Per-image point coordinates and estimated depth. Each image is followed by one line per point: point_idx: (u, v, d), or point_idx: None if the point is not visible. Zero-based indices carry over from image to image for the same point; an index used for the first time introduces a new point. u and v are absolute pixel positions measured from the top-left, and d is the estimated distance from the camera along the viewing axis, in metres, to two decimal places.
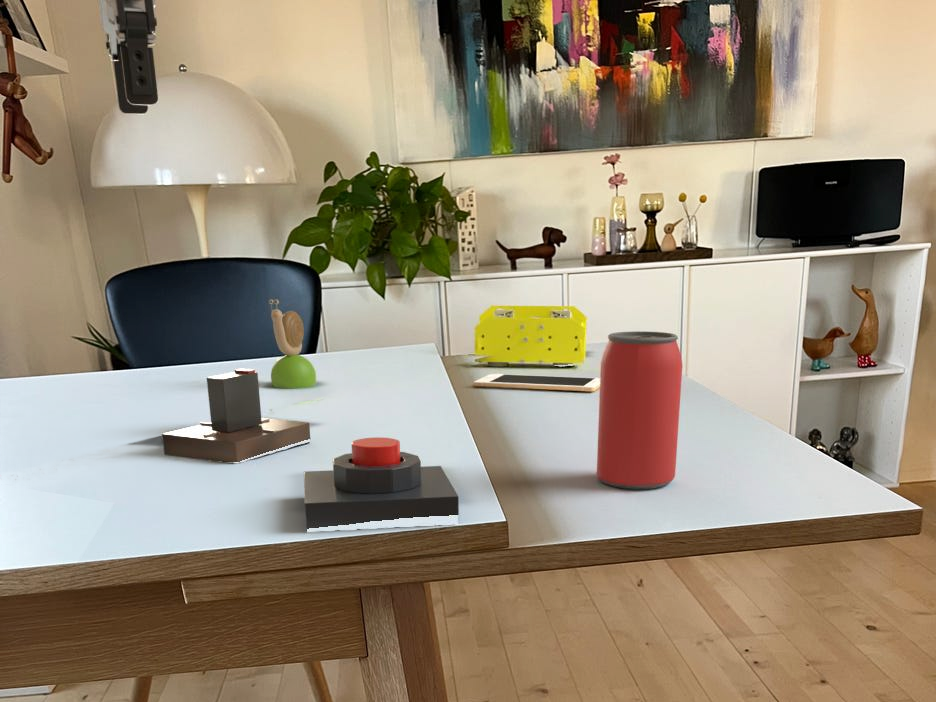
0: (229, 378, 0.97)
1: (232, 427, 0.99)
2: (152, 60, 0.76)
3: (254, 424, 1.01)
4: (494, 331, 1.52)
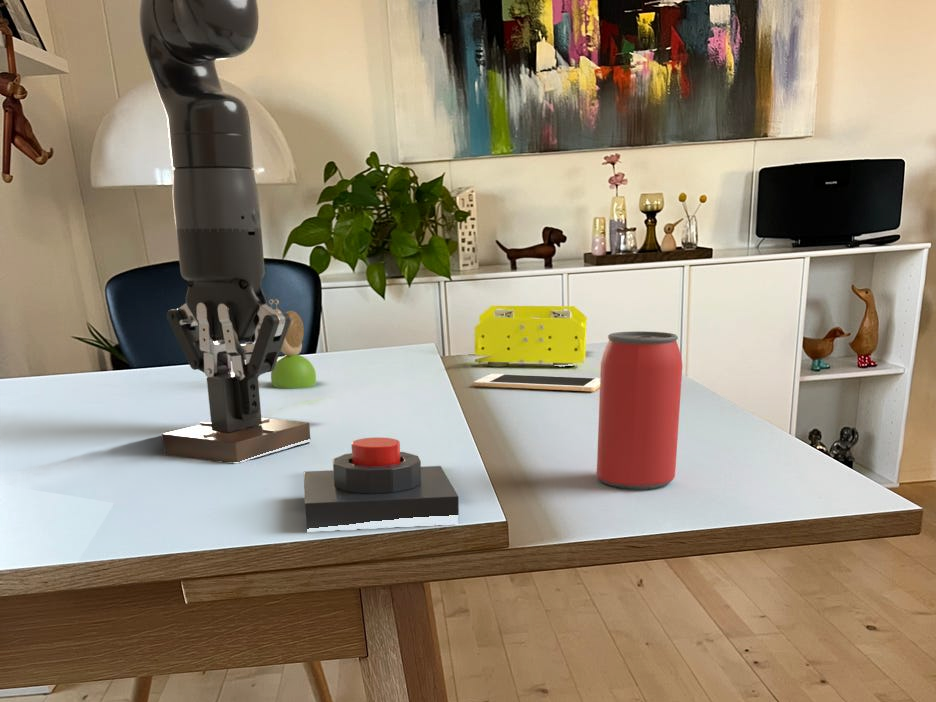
0: (229, 378, 0.97)
1: (232, 427, 0.99)
2: None
3: (254, 424, 1.01)
4: (494, 331, 1.52)
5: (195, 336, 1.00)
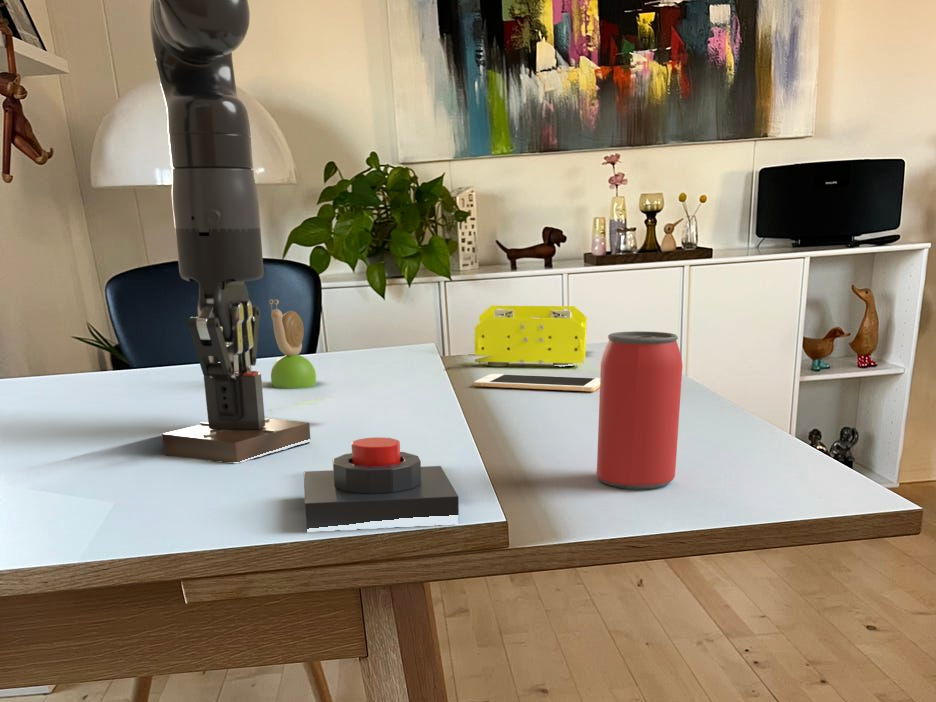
0: None
1: (215, 425, 1.00)
2: (236, 390, 0.98)
3: (247, 428, 1.00)
4: (494, 331, 1.52)
5: None
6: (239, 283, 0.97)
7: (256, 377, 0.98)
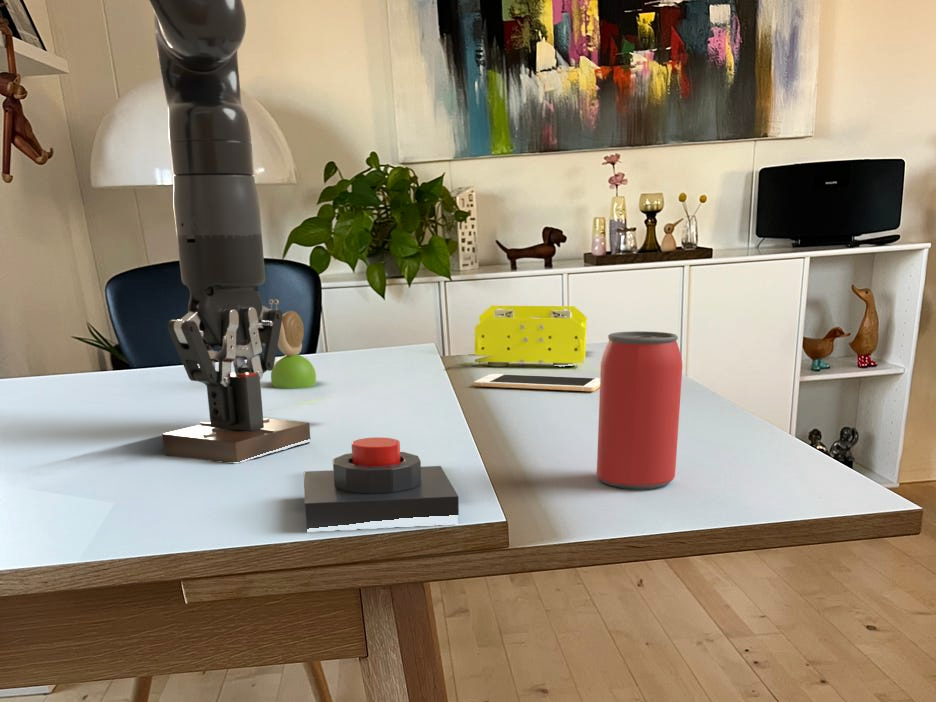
0: None
1: None
2: (227, 396, 0.97)
3: (241, 428, 0.99)
4: (494, 331, 1.52)
5: (261, 338, 1.02)
6: (243, 289, 0.97)
7: (249, 378, 0.97)
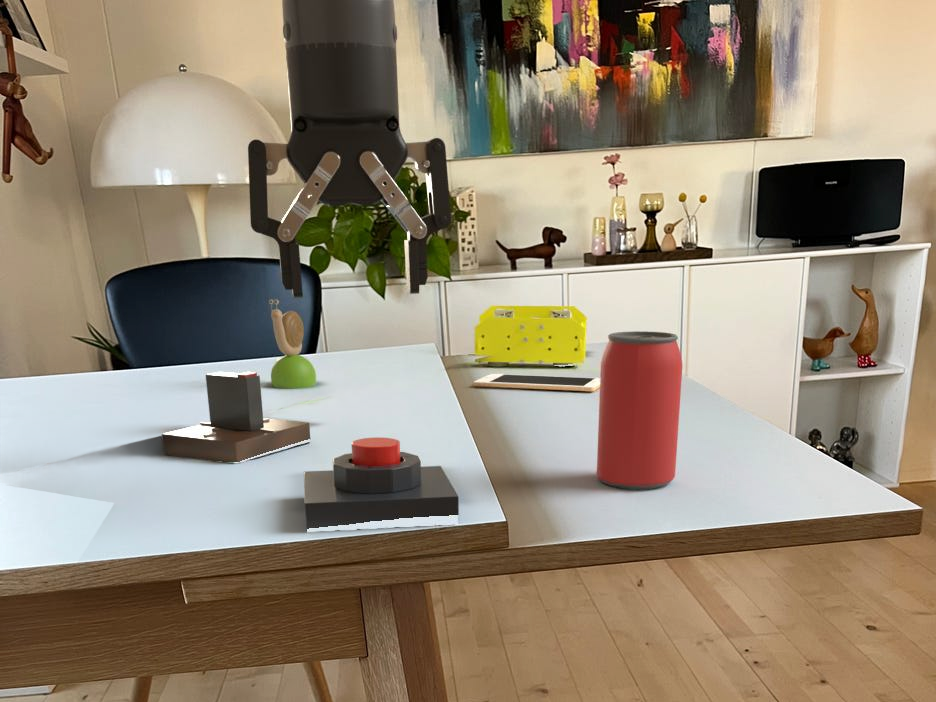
0: (213, 375, 0.99)
1: (215, 423, 1.01)
2: (290, 256, 0.74)
3: (241, 428, 0.99)
4: (494, 331, 1.52)
5: (429, 185, 0.75)
6: (364, 127, 0.72)
7: (249, 378, 0.97)
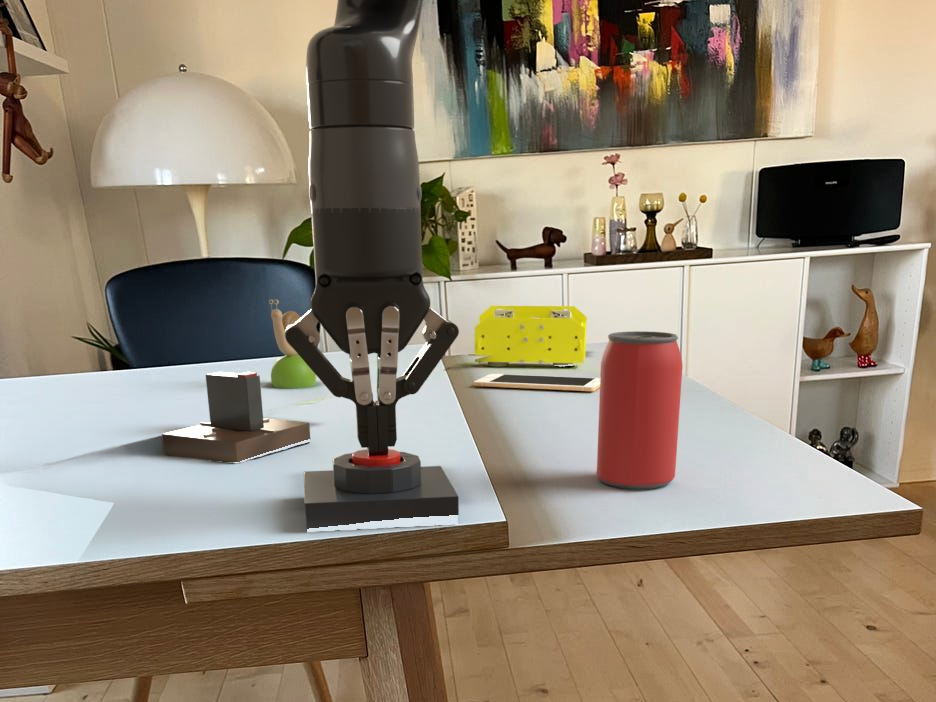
0: (213, 375, 0.99)
1: (215, 423, 1.01)
2: (367, 417, 0.76)
3: (241, 428, 0.99)
4: (494, 331, 1.52)
5: (422, 352, 0.76)
6: (388, 282, 0.73)
7: (249, 378, 0.97)
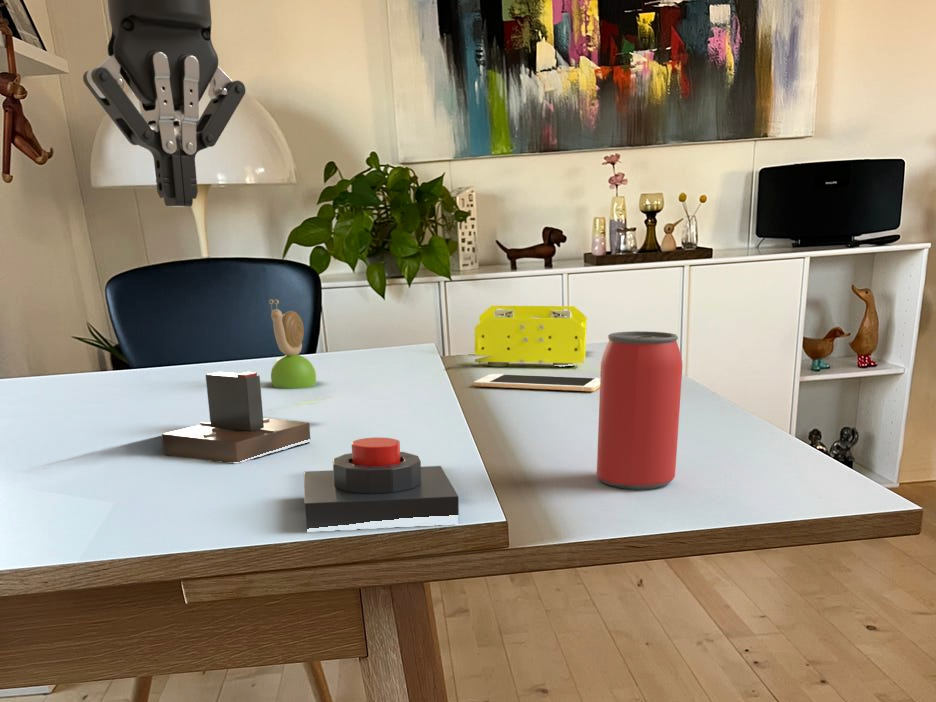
0: (213, 375, 0.99)
1: (215, 423, 1.01)
2: (172, 166, 0.82)
3: (241, 428, 0.99)
4: (494, 331, 1.52)
5: (211, 109, 0.84)
6: (183, 33, 0.80)
7: (249, 378, 0.97)
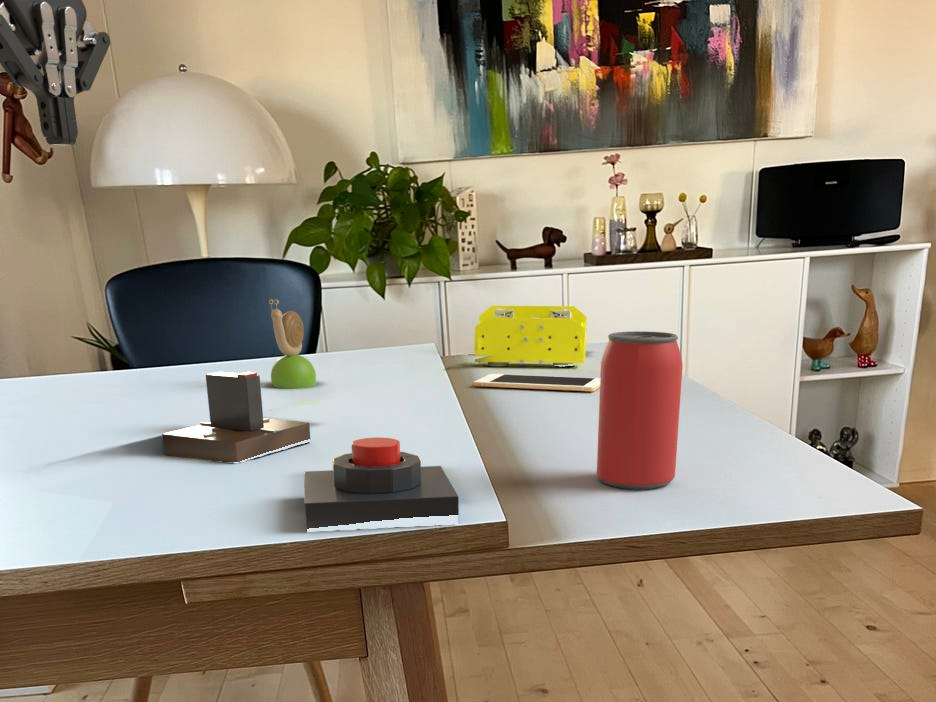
0: (213, 375, 0.99)
1: (215, 423, 1.01)
2: (57, 107, 0.91)
3: (241, 428, 0.99)
4: (494, 331, 1.52)
5: (81, 57, 0.93)
6: None
7: (249, 378, 0.97)
